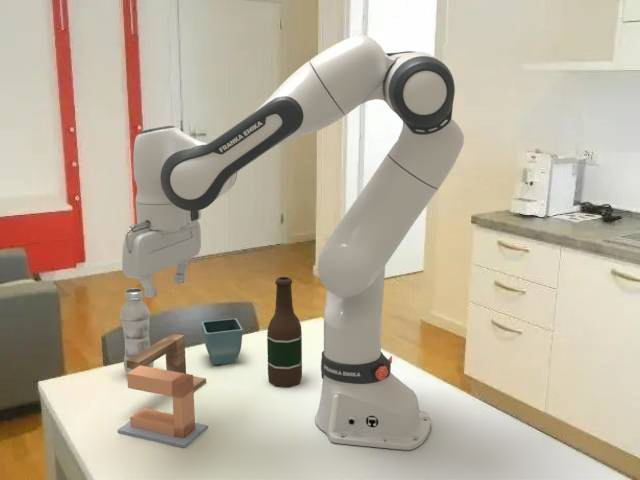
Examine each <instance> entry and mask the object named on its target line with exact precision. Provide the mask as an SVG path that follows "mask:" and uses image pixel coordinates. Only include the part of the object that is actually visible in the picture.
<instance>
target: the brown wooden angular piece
mask: <svg viewBox="0 0 640 480" xmlns="http://www.w3.org/2000/svg"><path fill="white" fill-rule="evenodd" d="M185 339H186V338H185V335H184V334H178V333H172V334H171V333H170V334H169V335H168V336H167V337H164V338H162V339H161V340H159V341H157V342H156V343H153V344H152V345H150V347H149V348H147V349H145V350H143V351H142V352H140V353H138V354H136V355H135V356H133V357H131V358H129V359H128V360H126V365H127V368H130V369H135V368H136V367H138V366H140V365H141V366H147V365H148V364H150V363H152V362H153V361H154V362H155V361H156V360H158V359H160V358H162V357H163V356H165V368H166V369H165V370H168V371H174V372H180V373H185V374H187V362H186V359H187V358H186V343H185V342H186V341H185ZM205 384H207V378H205V377H199V376H195V375H193V387H194V393H195V392H196V391H197V390H198V389H200V388H201V387H203V386H205Z"/></svg>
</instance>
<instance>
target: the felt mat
mask: <svg viewBox="0 0 640 480" xmlns="http://www.w3.org/2000/svg"><path fill="white" fill-rule="evenodd" d="M208 427H209V426H208V424H204V423H200V422H196V421H195V429H194V430H193V431H192V432H191V433H189V434H188V435H187V436H186V437H185V438H180V437H175V436H171V435H166V434H162V433H157V432H153V431H148V430H144V429H139V428H135V427H131V426H130V420H129V421H128V422H126V423H125V424H124V425H122V426H121V427H120V428H118V429H117V433H118V434H121V435H126V436H131V437H133V438H138V439H144V440H149V441H153V442H156V443H161V444H166V445H170V446H175V447H178V448H181V449H182V448H183V449H186V448H187V447H188V446H189V445H190V444H191V443H193V442H194V441H195V440H196V439H197V438H199V436H200V435H202V434H203V433H205V431H206V430H207V429H208Z"/></svg>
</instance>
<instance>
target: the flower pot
mask: <svg viewBox="0 0 640 480" xmlns="http://www.w3.org/2000/svg"><path fill="white" fill-rule="evenodd" d="M201 330H202V336H203V342H204V345H205V346H204V347H205V348H206V350H207V351H206V352H207V353H208V356H209V359H210V360H211V362H212V363H213V365H223V364H229V363H230V364H231V363H236V361H237V359H238V358H239V355H240V353H241V350H242V343H243V342H242V341H243V331H244V329H243V326H241V324H240V322H239V319H237V318H226V319H216V320H206V321H201Z"/></svg>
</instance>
